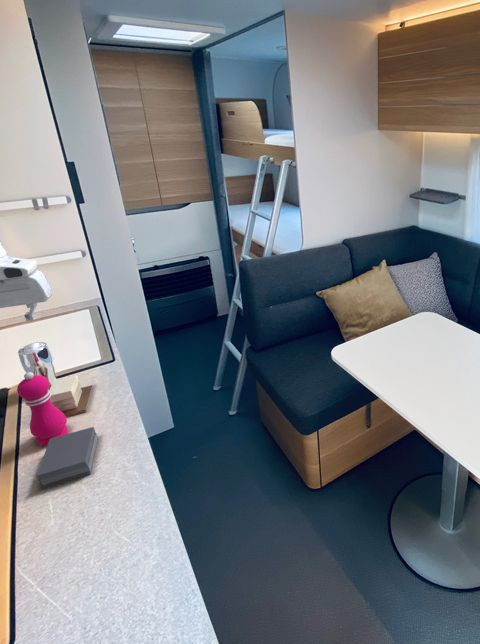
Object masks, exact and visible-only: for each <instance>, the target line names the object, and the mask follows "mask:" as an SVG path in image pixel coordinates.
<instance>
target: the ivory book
mask: <svg viewBox="0 0 480 644" xmlns="http://www.w3.org/2000/svg"><path fill="white" fill-rule="evenodd" d="M78 382H80V380H79V377H78V374H74V375H70V376H65V377H61V378H57V379H56V380H54V381H53V383H52V385H51V388H50V390H49V391H50V393H51V397H50V400H51V402H55V401H59V400H64V399H68V398H72V397H74V394H75V391H76V388H77V385H78Z"/></svg>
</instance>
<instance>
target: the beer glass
mask: <svg viewBox="0 0 480 644" xmlns="http://www.w3.org/2000/svg"><path fill="white" fill-rule="evenodd" d="M17 355H18V358H19V361H20V364H21V367H22V369H23V371H24V372H25V374H26V373H28V372H32V373H33V374H34V375H41V376H44V377H46V378H47V379H48V381H49V384H50V386H49V389H48V390H50V388H51V385H52V383H53V381H54V380H56V379H58V378H57V374H56V369H55V362H54V358H53V354H52V352H51V350H50V348H49V346H48V344H47V342H44V341H36V342H32V343H29V344H25V345H24V346H22V347H20V348H19V349H18V351H17Z"/></svg>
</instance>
